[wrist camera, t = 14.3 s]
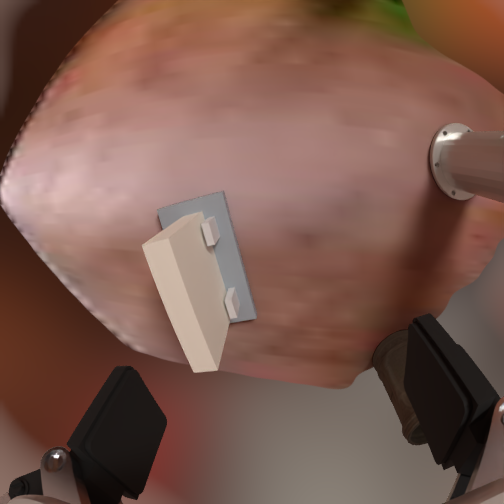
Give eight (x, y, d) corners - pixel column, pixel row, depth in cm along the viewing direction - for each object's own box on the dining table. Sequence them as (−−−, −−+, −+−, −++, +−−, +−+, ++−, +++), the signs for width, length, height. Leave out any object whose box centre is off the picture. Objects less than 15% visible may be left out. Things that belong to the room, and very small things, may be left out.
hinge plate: (223, 190, 40) (216, 195, 34) (257, 313, 45) (255, 332, 40) (160, 208, 41) (145, 215, 36) (199, 323, 47) (191, 341, 42)
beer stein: (385, 383, 49) (422, 453, 30) (358, 359, 47) (396, 439, 28) (441, 332, 46) (495, 390, 27) (419, 302, 44) (483, 363, 25)
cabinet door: (202, 211, 39) (168, 238, 26) (232, 311, 44) (217, 370, 31) (175, 218, 40) (132, 247, 27) (207, 315, 44) (184, 373, 31)
